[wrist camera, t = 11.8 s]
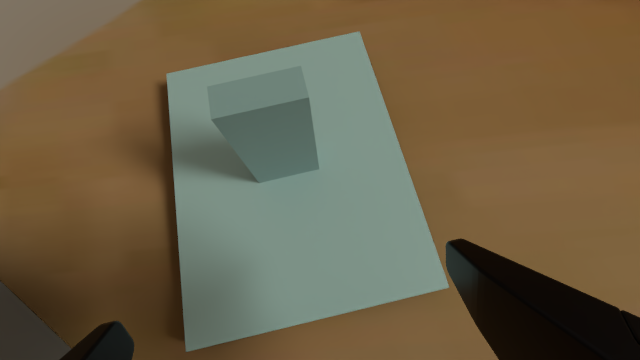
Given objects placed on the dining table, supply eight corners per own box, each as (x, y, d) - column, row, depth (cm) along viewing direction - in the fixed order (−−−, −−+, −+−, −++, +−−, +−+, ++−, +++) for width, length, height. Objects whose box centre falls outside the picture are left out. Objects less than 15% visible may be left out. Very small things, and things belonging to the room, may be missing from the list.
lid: (440, 287, 18) (540, 289, 9) (198, 346, 18) (59, 408, 9) (358, 46, 25) (370, -91, 16) (177, 86, 24) (82, -31, 15)
